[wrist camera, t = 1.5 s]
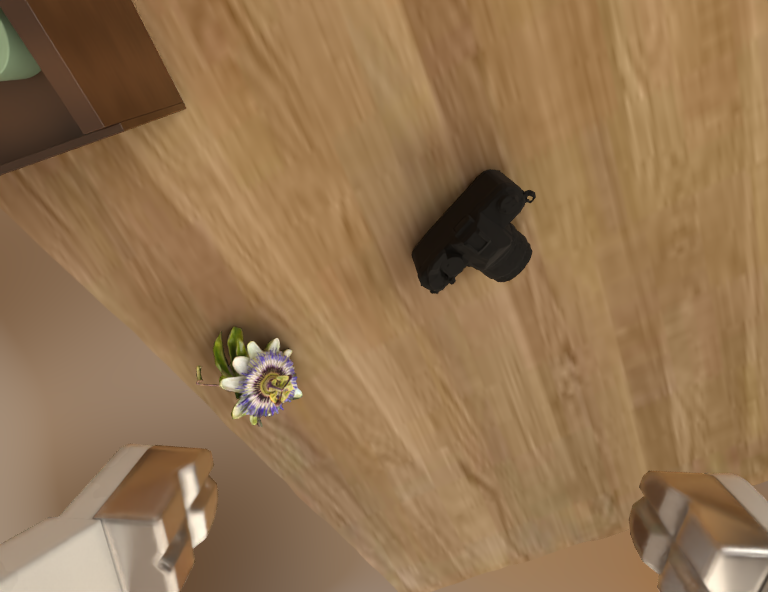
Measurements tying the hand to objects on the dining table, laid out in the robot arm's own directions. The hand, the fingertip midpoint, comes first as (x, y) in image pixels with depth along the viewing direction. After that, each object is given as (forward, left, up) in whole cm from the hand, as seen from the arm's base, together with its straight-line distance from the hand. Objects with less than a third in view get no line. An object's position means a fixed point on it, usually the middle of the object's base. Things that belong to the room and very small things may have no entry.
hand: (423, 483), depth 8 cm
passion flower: (+24, -23, -41) cm, 53 cm away
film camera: (+15, +9, -41) cm, 44 cm away
